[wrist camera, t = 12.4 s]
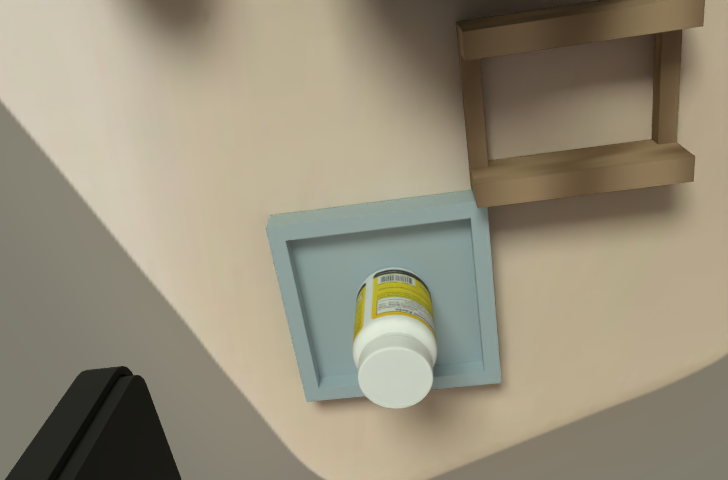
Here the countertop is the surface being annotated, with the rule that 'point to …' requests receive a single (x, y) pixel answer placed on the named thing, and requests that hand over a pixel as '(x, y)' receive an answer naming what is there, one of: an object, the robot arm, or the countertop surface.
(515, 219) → the countertop surface
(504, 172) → the caddy
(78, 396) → the robot arm
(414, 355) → the supplement bottle
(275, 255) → the tray
